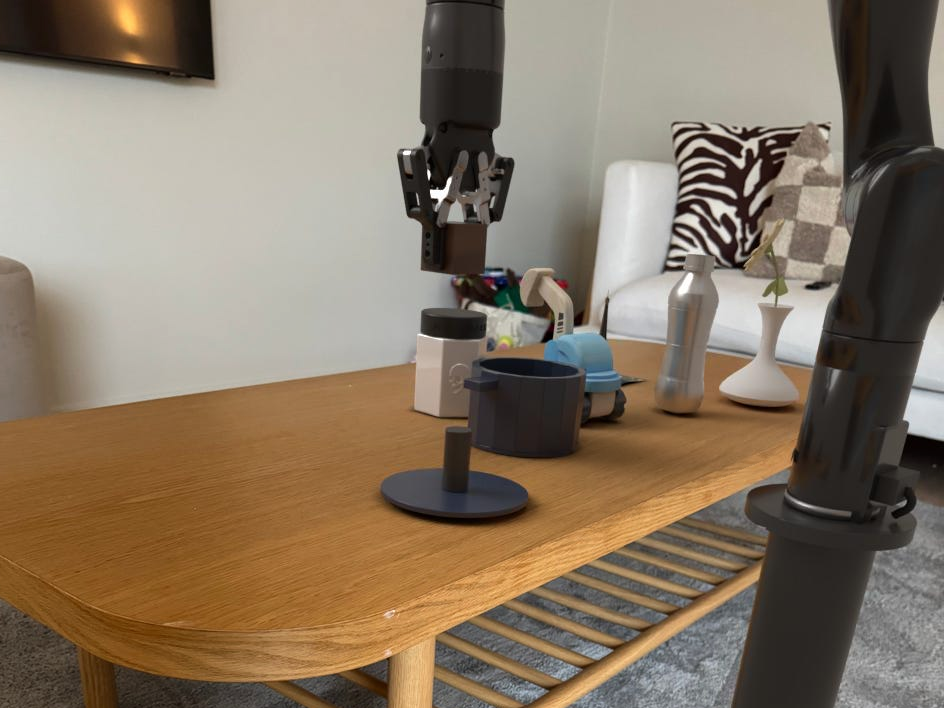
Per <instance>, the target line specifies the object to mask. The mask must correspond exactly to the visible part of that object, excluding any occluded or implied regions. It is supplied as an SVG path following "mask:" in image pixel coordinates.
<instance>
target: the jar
mask: <svg viewBox="0 0 944 708" xmlns="http://www.w3.org/2000/svg"><path fill="white" fill-rule="evenodd" d="M419 327H420V330H419V331H420V332H418V333H417V334H416V335H417V339H416V359H415V360H416V362H415V378H414V381H415V383H414V401H413V402H414V404H413V409H414V411H416V412H420V413H423V414H426V415H430V416H432V417H435V418H440V419H441V418H442V419H444V418H447V419H448V418H449V419H450V418H455V419H456V418H459V419H460V418H463V419H465V418H467V419H468V411H469V397H470V389H466V388H464V379H465V378H471V368H472V361H475V360H477V359H480V358H487V353H488V352H487V351H488V350H487V349H488V335H487V328H488V314H486V313H485V312H481V311H477V310H472V309H464V308H455V307H453V308H452V307H427V308H424V309H422V310H421V311H420V326H419Z"/></svg>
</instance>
